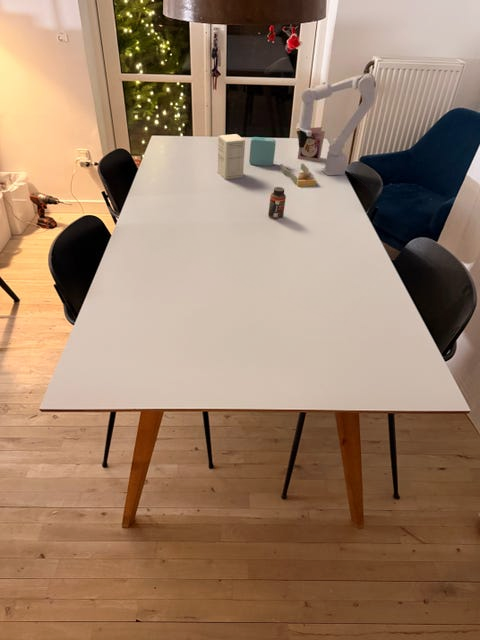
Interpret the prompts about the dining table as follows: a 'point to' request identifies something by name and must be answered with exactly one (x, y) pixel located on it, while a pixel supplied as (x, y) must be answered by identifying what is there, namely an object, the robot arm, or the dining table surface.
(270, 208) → the supplement bottle
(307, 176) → the tan rounded capsule
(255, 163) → the data package
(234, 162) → the supplement box
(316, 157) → the greeting card
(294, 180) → the keyhole track
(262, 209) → the dining table surface
